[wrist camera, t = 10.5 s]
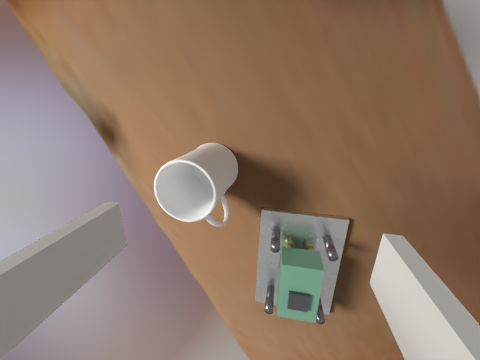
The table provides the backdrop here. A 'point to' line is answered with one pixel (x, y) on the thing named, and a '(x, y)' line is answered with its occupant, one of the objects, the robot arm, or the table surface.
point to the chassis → (301, 237)
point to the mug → (197, 183)
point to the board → (299, 284)
